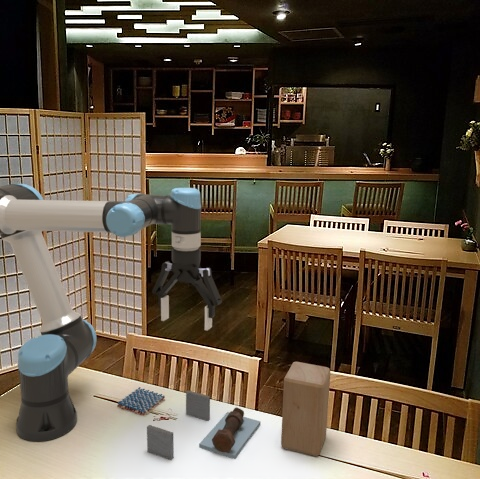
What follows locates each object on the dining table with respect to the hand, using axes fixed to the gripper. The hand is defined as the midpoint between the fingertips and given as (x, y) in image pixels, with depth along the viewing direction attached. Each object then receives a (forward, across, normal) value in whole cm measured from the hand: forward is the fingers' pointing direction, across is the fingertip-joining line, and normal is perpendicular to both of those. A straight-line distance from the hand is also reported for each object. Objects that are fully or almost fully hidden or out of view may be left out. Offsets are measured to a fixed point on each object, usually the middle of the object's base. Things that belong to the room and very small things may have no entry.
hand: (186, 323), depth 135 cm
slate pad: (+27, +16, -4) cm, 31 cm away
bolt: (+26, +16, -5) cm, 31 cm away
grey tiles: (+27, +4, -10) cm, 29 cm away
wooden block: (+27, +34, +2) cm, 43 cm away
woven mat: (+27, -14, -2) cm, 31 cm away
